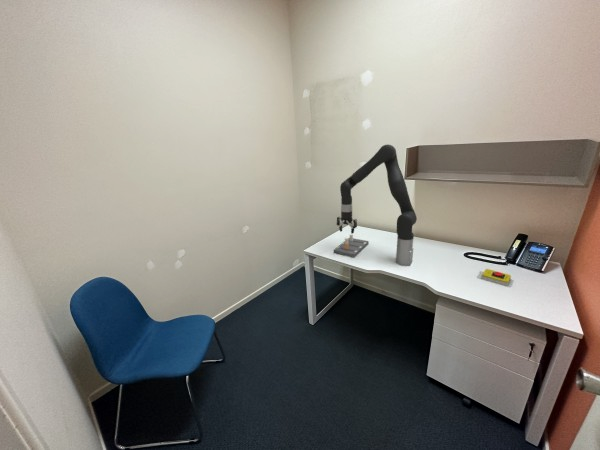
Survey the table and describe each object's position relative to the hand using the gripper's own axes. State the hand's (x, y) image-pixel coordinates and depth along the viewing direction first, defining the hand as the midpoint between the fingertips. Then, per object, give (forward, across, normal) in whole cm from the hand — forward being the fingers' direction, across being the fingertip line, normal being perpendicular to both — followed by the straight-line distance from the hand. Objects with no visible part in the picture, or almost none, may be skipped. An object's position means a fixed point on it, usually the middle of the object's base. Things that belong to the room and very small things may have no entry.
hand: (346, 232), depth 175 cm
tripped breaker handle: (+13, 0, 0) cm, 13 cm away
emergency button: (+15, -85, -8) cm, 87 cm away
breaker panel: (+16, 0, -8) cm, 17 cm away
